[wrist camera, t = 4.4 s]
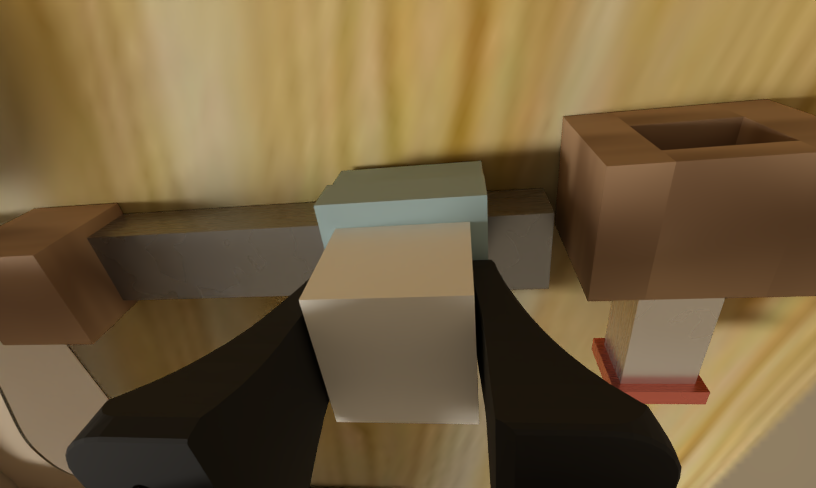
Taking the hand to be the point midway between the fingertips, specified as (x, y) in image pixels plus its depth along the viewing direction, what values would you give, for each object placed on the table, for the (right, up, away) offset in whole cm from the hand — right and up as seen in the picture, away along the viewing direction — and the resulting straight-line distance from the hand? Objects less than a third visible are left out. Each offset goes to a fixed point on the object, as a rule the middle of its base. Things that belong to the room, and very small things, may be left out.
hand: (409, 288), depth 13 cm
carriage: (0, +2, +3) cm, 4 cm away
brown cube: (-14, +1, +5) cm, 15 cm away
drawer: (+9, 0, +2) cm, 9 cm away
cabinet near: (+8, +4, +1) cm, 9 cm away
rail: (-3, +2, +4) cm, 5 cm away
